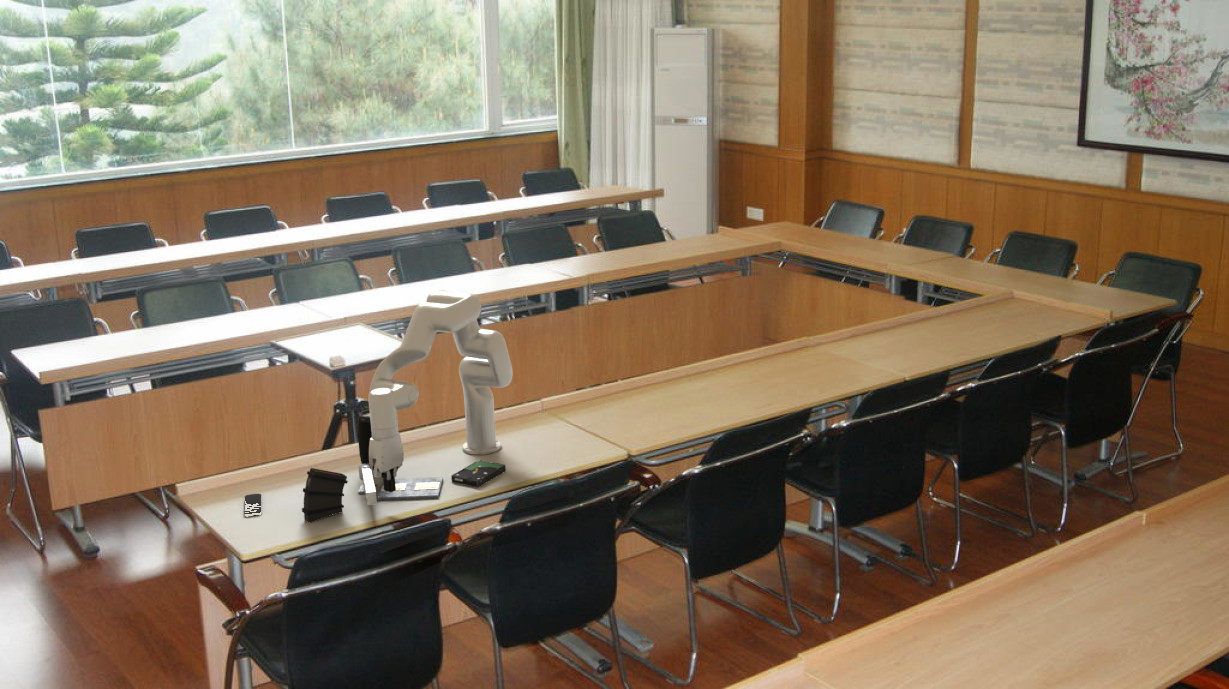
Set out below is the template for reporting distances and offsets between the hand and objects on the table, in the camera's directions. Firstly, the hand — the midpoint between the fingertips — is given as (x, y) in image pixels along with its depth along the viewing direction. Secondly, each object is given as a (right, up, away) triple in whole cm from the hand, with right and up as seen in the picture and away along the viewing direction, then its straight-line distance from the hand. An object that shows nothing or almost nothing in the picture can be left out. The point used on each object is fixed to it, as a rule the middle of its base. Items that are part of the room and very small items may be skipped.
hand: (390, 490), depth 348 cm
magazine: (-18, -7, -2) cm, 19 cm away
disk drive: (+23, +1, +23) cm, 33 cm away
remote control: (-41, -6, +6) cm, 42 cm away
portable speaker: (-10, +2, +29) cm, 31 cm away
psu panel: (+4, -2, +14) cm, 15 cm away
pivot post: (-9, -2, +15) cm, 18 cm away
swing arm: (-7, 0, +5) cm, 9 cm away
